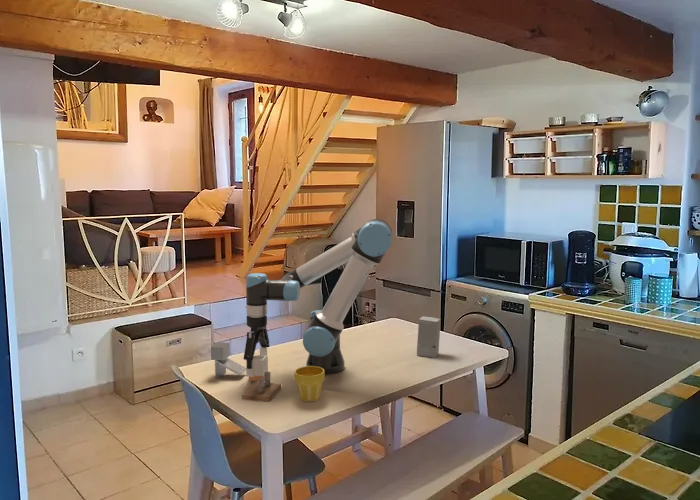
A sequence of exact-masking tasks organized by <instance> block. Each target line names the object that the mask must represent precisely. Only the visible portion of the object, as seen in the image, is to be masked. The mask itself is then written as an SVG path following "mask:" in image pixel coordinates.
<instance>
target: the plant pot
mask: <svg viewBox="0 0 700 500" xmlns="http://www.w3.org/2000/svg"><path fill="white" fill-rule="evenodd" d="M325 375H326V374H325V371H324V369H323V368H321V367H317V366H300V367H298V368H296V369H295V370H294V375H293V376H294V382H295V383H296V385H297V389H298V393H299V397H300V400H301V401H304V402H315V401H318V400H319V399H320V397H321V392H322V388H323V383H324V381H325V378H326V377H325Z"/></svg>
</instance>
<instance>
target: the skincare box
mask: <svg viewBox="0 0 700 500" xmlns="http://www.w3.org/2000/svg"><path fill="white" fill-rule="evenodd" d="M441 320H442V319H441V318H437V317H432V316H421V317H419V319H418V328H417V329H418V330H417V342H416V343H417V345H416V356H419V357H426V358H433V359H435V358H436V357H437V356H438V355H439V350H440V336H441V335H440V334H441V332H440V331H441Z"/></svg>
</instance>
